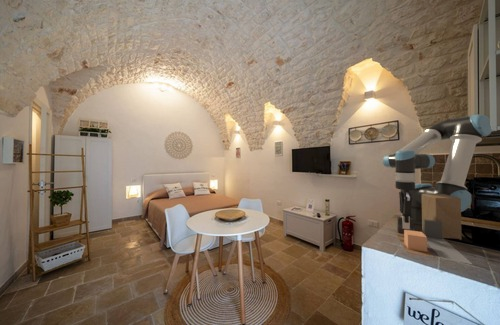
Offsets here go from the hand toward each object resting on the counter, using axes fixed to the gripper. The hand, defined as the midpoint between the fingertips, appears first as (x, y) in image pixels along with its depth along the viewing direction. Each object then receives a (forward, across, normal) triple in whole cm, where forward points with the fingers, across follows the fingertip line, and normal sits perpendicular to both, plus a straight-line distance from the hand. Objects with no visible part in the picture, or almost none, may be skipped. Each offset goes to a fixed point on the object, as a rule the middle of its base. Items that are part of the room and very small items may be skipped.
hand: (405, 227), depth 93 cm
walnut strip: (+4, +11, 0) cm, 12 cm away
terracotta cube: (+3, +16, 0) cm, 16 cm away
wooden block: (+4, -7, +15) cm, 17 cm away
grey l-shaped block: (+4, +11, +10) cm, 16 cm away
